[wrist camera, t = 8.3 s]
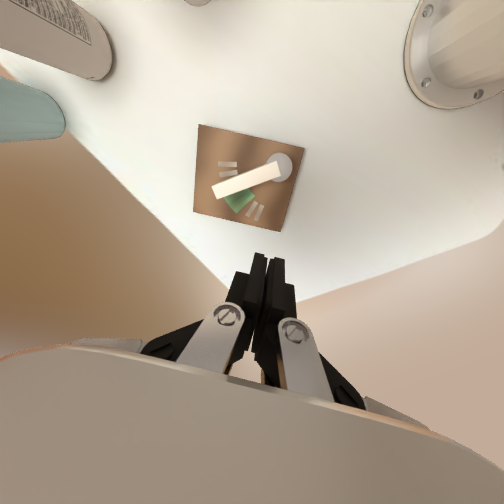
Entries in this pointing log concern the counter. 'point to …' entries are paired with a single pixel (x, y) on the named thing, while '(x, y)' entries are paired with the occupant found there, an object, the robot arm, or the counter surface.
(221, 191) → the dial needle
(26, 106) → the cup
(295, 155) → the dial board
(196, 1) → the chalice
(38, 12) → the energy drink can
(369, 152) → the counter surface
